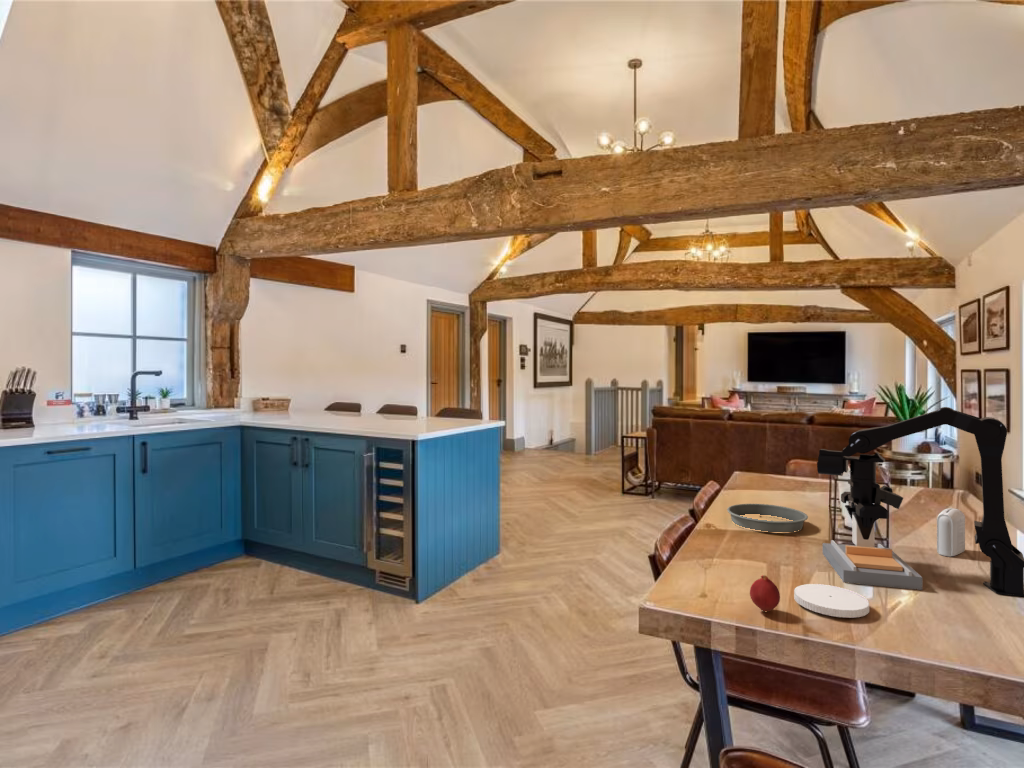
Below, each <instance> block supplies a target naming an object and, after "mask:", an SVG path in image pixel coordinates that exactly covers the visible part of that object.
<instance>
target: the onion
mask: <svg viewBox="0 0 1024 768" xmlns="http://www.w3.org/2000/svg"><path fill="white" fill-rule="evenodd" d="M749 596H750V599H751V601H752V603H753V604H754V605H755V606H756V607H757V608H759V610H760V611H761V610H763V611H768V612H770V611H772V610H774V609H775V608H776V607H778V605H779V603H780V601H781V593H780V590H779V588H778V587H777V585H776V584H775V583H774V582H773V581H772V580H771V579H770V578H769V577H768V576H767V575H766V574H762V575H761V576H760V578H758V579H756V580H754V581H753V583H752V584H751V586H750V589H749ZM763 611H762V612H763Z"/></svg>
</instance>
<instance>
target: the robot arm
mask: <svg viewBox="0 0 1024 768" xmlns="http://www.w3.org/2000/svg"><path fill="white" fill-rule="evenodd" d="M943 425H944V426H945V425H948V426H950V427H953V428H955V429H958V430H961V431H964V432H965V433H968V434H969V433H970V434H972V435H974V438H975V442H976V445H977V448H978V452H979V456H980V468H981V469H980V470H981V473H980V474H981V490H982V491H981V492H982V511H983V512H982V513H983V514H982V519H981V521H978V520H974V521H973V524H974V529H975V534H974V543H975V544H978V546H979V549H980V551H981V552H982V553H983V554H984V555H985V556H986V557H988V558H990V562H989V567H990V568H989V571H990V572H989V581H982V584H983V585H984V586H985V587H987V588H988V589H989V590H991V591H993V592H994V593H995V594H998V595H1003V596H1004V595H1006V596H1014V597H1015V596H1016V597H1024V554H1023V552H1022V551H1021V550H1019V548H1017V547H1016V546H1015V545H1013V544H1012V540H1011V537H1010V533H1009V529H1008V526H1007V523H1006V519H1005V505H1004V504H1005V503H1004V502H1005V501H1004V483H1003V481H1004V480H1003V463H1002V459H1003V454H1004V450H1005V446H1006V440H1007V434H1008V429H1007V426H1006V425H1005V424H1004V423H1003V422H1002V421H1001V420H999V419H998V418H995V417H990V416H986V417H982V418H980V417H978V416H975V415H972V414H969V413H966V412H961V411H958V410H956V409H953V408H951V407H950V406H949V407H947V406H943V407H940V408H938V409H937V410H933V411H930V412H926V413H924V414H921V415H917V416H914V417H911V418H908V419H905V420H901V421H898V422H895V423H892V424H889V425H884V426H876V427H870V428H862V429H859V430H856V431H855V432H853V433H852V434H850V436H849V438H848V444H847V445H846V446H845V447H843V448H842V450H830V449H826V448H821V449H819V450H818V457H817V462H816V470H817V474H819V475H830V476H837V477H838V476H841V477H843V476H844V473H847V474H848V471H849V474H850V475H849V479H847V484H848V485H849V486H850V487H849V488H850V489H849V491H843V492H842V493H841V494H840V502H842V504H846V503H847V502H848V504H847V505H844V507H845V509H846V511H847V514H848V515H849V517H850V519H851V520H852V512H853V514H854V517H855V519H856V522H857V524H858V527H859V529H860V532H861V535H862V537H863V539H865V540H868V539H869V536H870V533H871V530H872V528H873V525H874V526H875V522H876V521H878V520H879V519H881V520H883V519H884V520H888V519H889V510H888V509H887V508H886V507H884V506H883V505H882V503H883V504H886V505H888V506H891V507H893V508H894V509H898V510H899V509H900V507H901V505H902V503H903V500H904V497H903V496H901V495H900V494H897V493H895V492H893V488H892V487H890V486H887V485H882V486H881V485H880V484H879V483H878V482H877V463H881V464H882V463H884V462H885V461H886V458H885V457H883V456H882V455H880V452H878V451H877V452H875V453H874V454H867V453H870V452H872V451H874V450H876V449H878V448H880V447H882V446H883V445H885V444H888V443H889V442H892V441H894V440H898V439H901V438H903V437H907V436H910V435H913V434H917V433H920V432H924V431H928V430H930V429H933V428H938V427H940V426H943ZM857 453H858V454H859V456H853V455H856V454H857ZM854 512H856V513H854Z"/></svg>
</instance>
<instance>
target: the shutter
mask: <svg viewBox="0 0 1024 768" xmlns="http://www.w3.org/2000/svg"><path fill="white" fill-rule="evenodd" d="M845 545H846V556H847V557H848V558H849V559H850V560H851V561H852V563H853V564H854V565H855V566H856V567H860V568H871V569H882V570H894V571H903V567H902V566H901V565H900V564H899V563H898V562H896V561H895V560H894V559H893V558H892V551H893V549H892V548H890V549H886V548H887V547H884V548H873V547H860V546H856V545H855V546H847V545H848V544H845Z"/></svg>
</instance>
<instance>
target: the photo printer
mask: <svg viewBox="0 0 1024 768" xmlns="http://www.w3.org/2000/svg"><path fill="white" fill-rule="evenodd" d="M965 551H966V516H965V514H964V512H963V511H962V510H960V509H959V508H953V507H949V508H945V509H943V510H942V511H941V512H940V513H939V514H938V515H937V519H936V552H937V554H939V555H940V556H945V557H949V558H950V557H955V556H957V555H959V554H961V553H964V552H965Z"/></svg>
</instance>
